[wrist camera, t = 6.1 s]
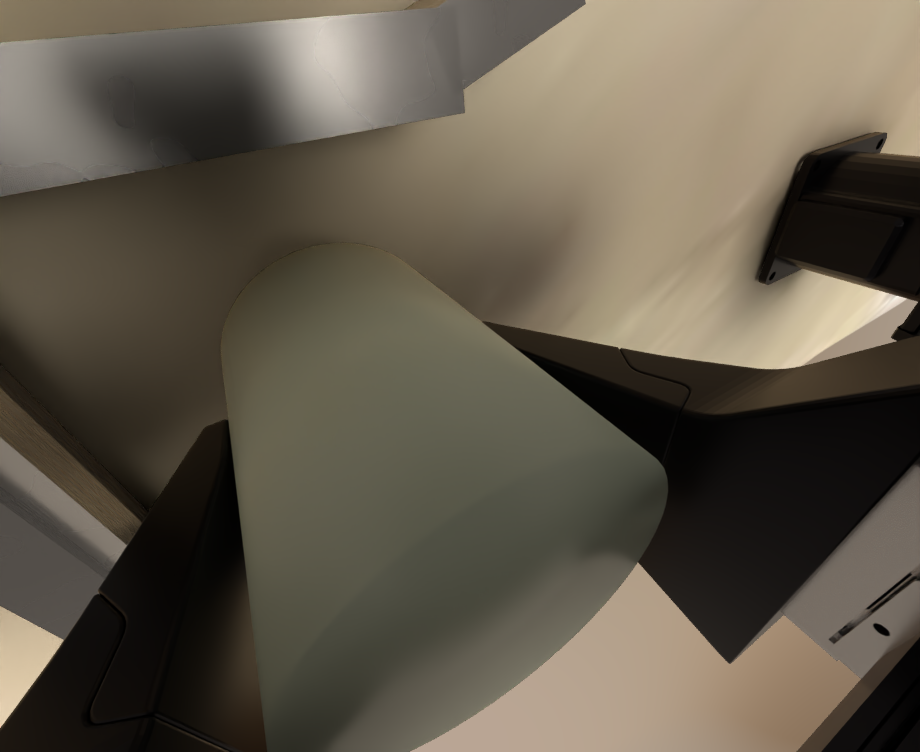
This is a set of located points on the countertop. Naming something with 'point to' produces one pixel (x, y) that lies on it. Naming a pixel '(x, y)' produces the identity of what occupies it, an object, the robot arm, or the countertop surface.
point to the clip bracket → (183, 141)
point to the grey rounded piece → (411, 502)
